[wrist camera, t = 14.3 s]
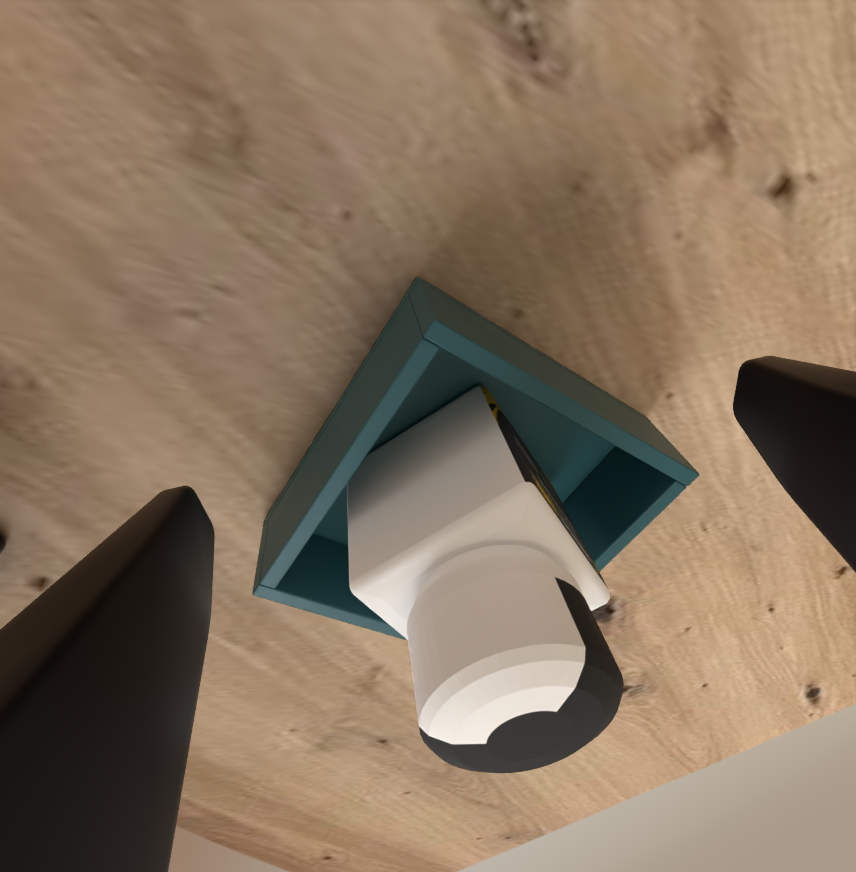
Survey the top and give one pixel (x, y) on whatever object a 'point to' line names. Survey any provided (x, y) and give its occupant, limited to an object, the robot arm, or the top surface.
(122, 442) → the top surface
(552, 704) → the medicine bottle
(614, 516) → the desk bin
